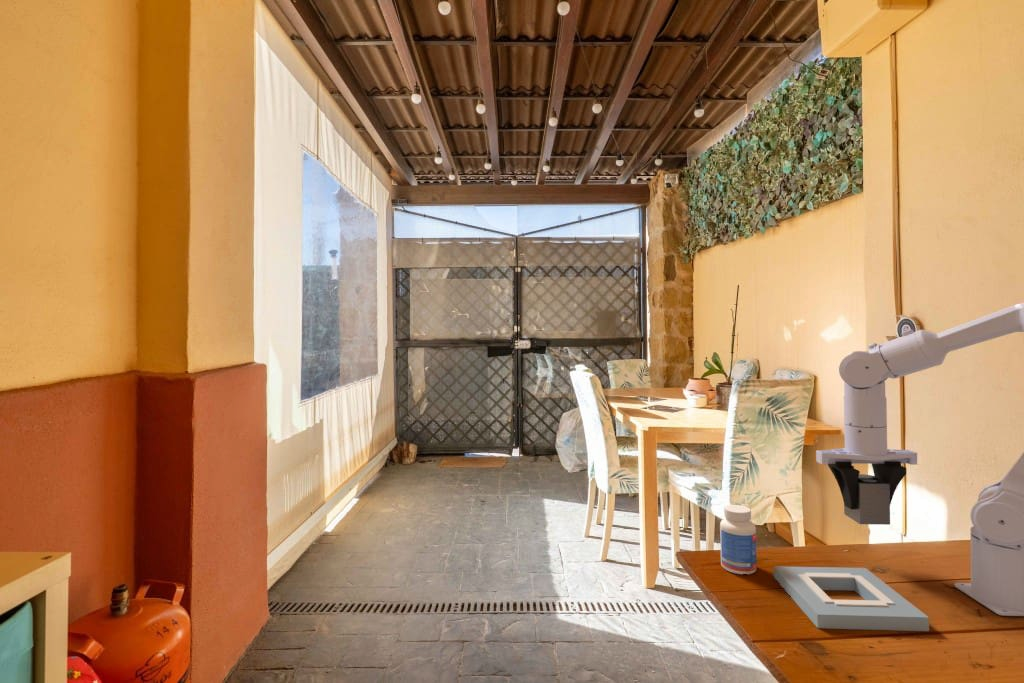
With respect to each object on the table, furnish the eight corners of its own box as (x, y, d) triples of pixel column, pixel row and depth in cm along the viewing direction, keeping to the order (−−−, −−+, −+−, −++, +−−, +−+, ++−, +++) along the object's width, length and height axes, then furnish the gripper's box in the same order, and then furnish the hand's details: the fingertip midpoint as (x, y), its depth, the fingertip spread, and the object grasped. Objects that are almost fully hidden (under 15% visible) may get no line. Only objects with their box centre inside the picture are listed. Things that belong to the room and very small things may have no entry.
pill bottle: (761, 576, 79) (759, 515, 79) (724, 574, 81) (723, 513, 80) (751, 561, 85) (750, 503, 85) (717, 559, 86) (716, 502, 86)
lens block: (872, 514, 85) (872, 473, 84) (890, 524, 80) (889, 481, 80) (844, 514, 85) (843, 473, 85) (860, 524, 81) (859, 481, 80)
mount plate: (865, 579, 78) (865, 566, 78) (929, 631, 64) (928, 615, 64) (774, 577, 79) (773, 565, 79) (817, 628, 66) (817, 612, 66)
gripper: (896, 419, 86) (897, 499, 86) (806, 420, 87) (807, 499, 87) (926, 427, 79) (927, 514, 79) (828, 428, 80) (829, 513, 80)
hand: (866, 507), depth 82 cm, fingers closed on lens block, 4 cm apart
